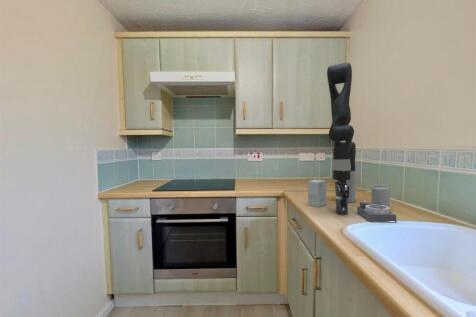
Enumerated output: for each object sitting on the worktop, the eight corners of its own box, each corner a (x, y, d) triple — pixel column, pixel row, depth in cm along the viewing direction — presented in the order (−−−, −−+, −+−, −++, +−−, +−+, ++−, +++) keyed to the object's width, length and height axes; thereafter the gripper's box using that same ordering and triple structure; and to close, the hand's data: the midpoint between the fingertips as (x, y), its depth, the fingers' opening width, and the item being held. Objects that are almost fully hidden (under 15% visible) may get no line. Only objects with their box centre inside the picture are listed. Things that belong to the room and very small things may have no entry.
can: (383, 207, 119) (383, 183, 119) (393, 211, 112) (393, 185, 111) (368, 207, 119) (368, 183, 119) (377, 211, 112) (377, 186, 111)
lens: (334, 211, 113) (334, 190, 113) (346, 211, 112) (345, 190, 112) (337, 214, 108) (337, 192, 108) (349, 214, 107) (349, 192, 107)
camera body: (357, 212, 110) (357, 200, 110) (380, 213, 109) (380, 200, 109) (369, 221, 96) (369, 207, 96) (396, 222, 95) (396, 208, 95)
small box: (315, 202, 132) (315, 179, 132) (326, 204, 128) (326, 180, 127) (307, 205, 127) (307, 181, 126) (319, 207, 122) (318, 182, 122)
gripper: (329, 168, 117) (329, 202, 118) (337, 170, 103) (337, 209, 103) (345, 167, 116) (345, 202, 117) (355, 170, 102) (355, 209, 102)
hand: (341, 205), depth 110 cm, fingers closed on lens, 5 cm apart
